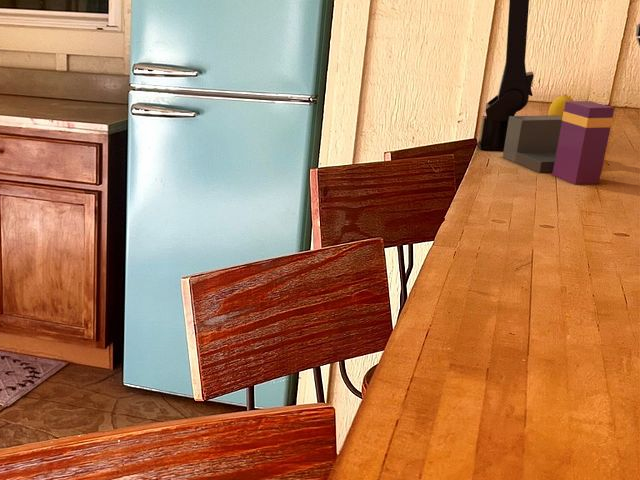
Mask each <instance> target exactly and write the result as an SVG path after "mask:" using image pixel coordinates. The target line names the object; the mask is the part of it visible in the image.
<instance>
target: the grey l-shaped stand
mask: <svg viewBox="0 0 640 480" xmlns="http://www.w3.org/2000/svg"><path fill="white" fill-rule="evenodd" d="M561 125H562V117H561V116H558V115H548V114H547V115H544V114H543V115H514V116H509V121H508V127H507V133H506V139H505V146H504V150H503V153H502V158H503V159H506V160H508V161H510V162H513V163H514V164H518V165H520V166H522V167H524V168H527V169H530V170H532V171H534V172H537V173H540V174H541V173H542V174H543V173H544V174H545V173H553V168H554V162H555V157H556V151H557V146H558V141H559V135H560V130H561Z"/></svg>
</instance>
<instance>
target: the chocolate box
mask: <svg viewBox="0 0 640 480" xmlns="http://www.w3.org/2000/svg"><path fill="white" fill-rule="evenodd" d="M614 113H615V106H610V105H608V104H603V103H599V102H595V101H591V100H573V101H566V103H565V108H564V112H563V117H562V125H561V130H560V135H559V141H558V146H557V151H556V157H555V162H554V168H553V172H551V175H552V176H553V177H556V178H558V179H561V180H563V181H565V182H569V183H570V184H573V185H598V184H600V181H601V176H602V170H603V166H604V161H605V156H606V151H607V146H608V142H609V137H610V134H611V133H610V132H611V128H612V126H613V125H612V124H613V119H614Z"/></svg>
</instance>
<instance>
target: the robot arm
mask: <svg viewBox="0 0 640 480" xmlns="http://www.w3.org/2000/svg"><path fill="white" fill-rule="evenodd" d="M508 1H509V2H508V3H509V4H508V18H507V36H506V50H505V51H506V52H505V63H504V66H503V67H504V68H503V71H502V76H501V80H500V84H499V88H498V91H497V95H495V96H494V97H493V98H492V99H490V100H489V101H488V102H487V103H486V104H485V115H481V121H480V129H479V135H478V141H476V143H475V144H476V146H477V147H478V148H479V150H486V151H504V146H505V139H506V133H507V127H508V121H509V116H516V113H518V112H520V111H522V110H523V109H524V108H525V107H526V106H527V104H528V103H529V98H530V97H533V91H532V85H533V81H534V78H535V77H534V72H533V71H528V72H527V69H526V53H527V52H526V51H527V39H528V24H529V23H528V22H529V10H530V9H529V8H530V0H508ZM635 36H636V37H637V38H636V41H637V44H638V47H640V22H639V23H638V24H637V25H636V30H635Z"/></svg>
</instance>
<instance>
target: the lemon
mask: <svg viewBox="0 0 640 480" xmlns="http://www.w3.org/2000/svg"><path fill="white" fill-rule="evenodd" d="M566 101H574V99H573V98H571V97H570V96H569V95H568V94H562V95H560V96H558V97H556V98H554V100H553V101H552V102H551V103H550V106H549V109H548V114H547V115H558V116H561V117H563V112H564V108H565V103H566Z"/></svg>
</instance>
